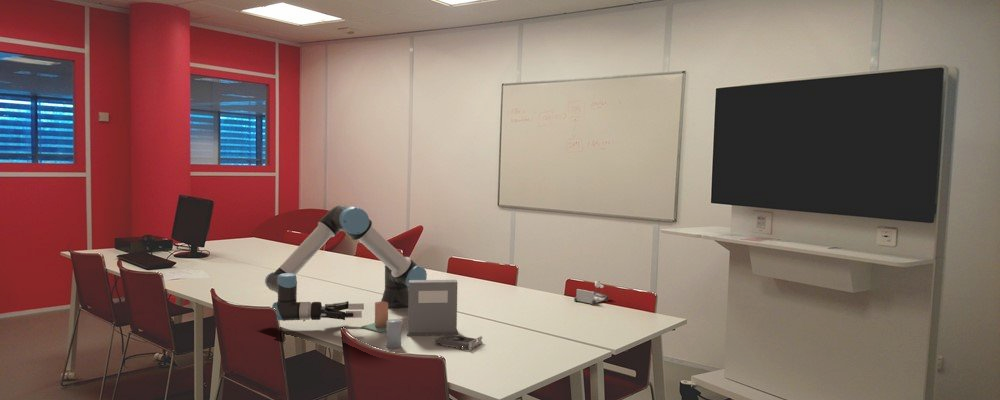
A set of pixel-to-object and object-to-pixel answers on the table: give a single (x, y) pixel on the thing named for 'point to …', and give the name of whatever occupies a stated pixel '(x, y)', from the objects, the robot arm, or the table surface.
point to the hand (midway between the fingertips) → (362, 310)
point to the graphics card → (458, 341)
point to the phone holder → (591, 295)
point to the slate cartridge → (393, 333)
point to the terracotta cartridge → (381, 314)
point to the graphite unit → (432, 307)
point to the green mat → (375, 328)
